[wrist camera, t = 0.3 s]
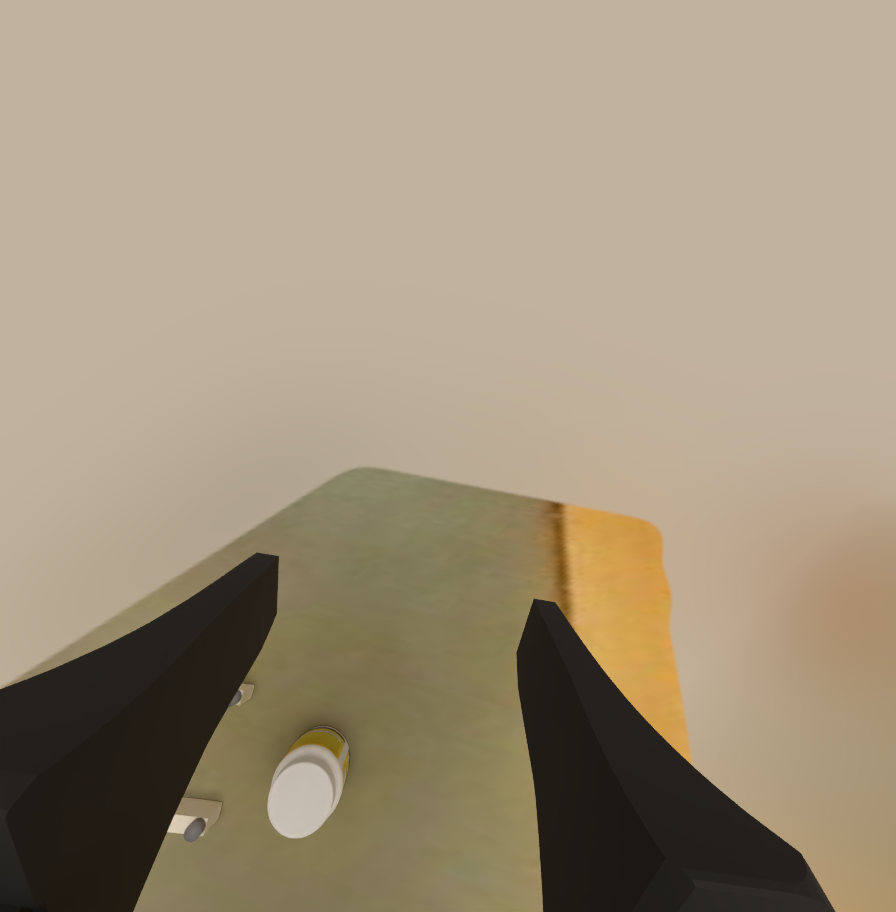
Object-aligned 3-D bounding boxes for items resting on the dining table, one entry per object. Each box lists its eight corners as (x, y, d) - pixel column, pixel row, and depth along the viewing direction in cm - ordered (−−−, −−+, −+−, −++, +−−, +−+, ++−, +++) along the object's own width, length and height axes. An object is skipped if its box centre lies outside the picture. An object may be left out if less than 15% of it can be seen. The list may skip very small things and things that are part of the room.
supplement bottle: (280, 744, 35) (249, 779, 27) (337, 713, 37) (323, 738, 29) (301, 808, 34) (275, 864, 26) (359, 774, 35) (350, 818, 27)
